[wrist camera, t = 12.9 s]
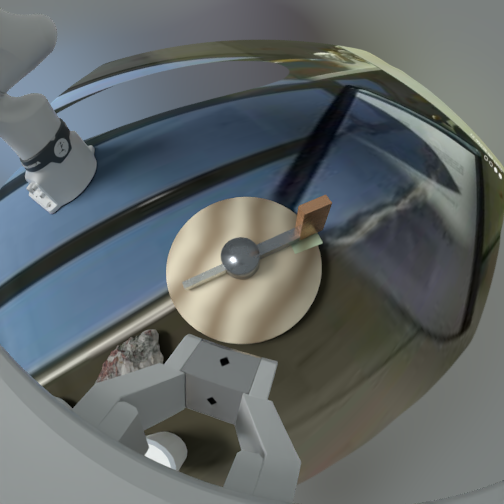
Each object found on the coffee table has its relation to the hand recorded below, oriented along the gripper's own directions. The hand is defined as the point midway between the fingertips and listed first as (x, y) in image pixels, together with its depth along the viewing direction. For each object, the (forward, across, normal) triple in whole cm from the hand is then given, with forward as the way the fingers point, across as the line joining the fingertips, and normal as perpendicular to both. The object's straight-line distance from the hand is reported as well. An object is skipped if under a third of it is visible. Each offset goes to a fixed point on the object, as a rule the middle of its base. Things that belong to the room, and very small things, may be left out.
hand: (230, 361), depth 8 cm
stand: (+28, +6, +11) cm, 31 cm away
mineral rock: (+14, +16, +25) cm, 33 cm away
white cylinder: (+8, +8, +31) cm, 33 cm away
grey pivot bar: (+28, +5, +8) cm, 29 cm away
